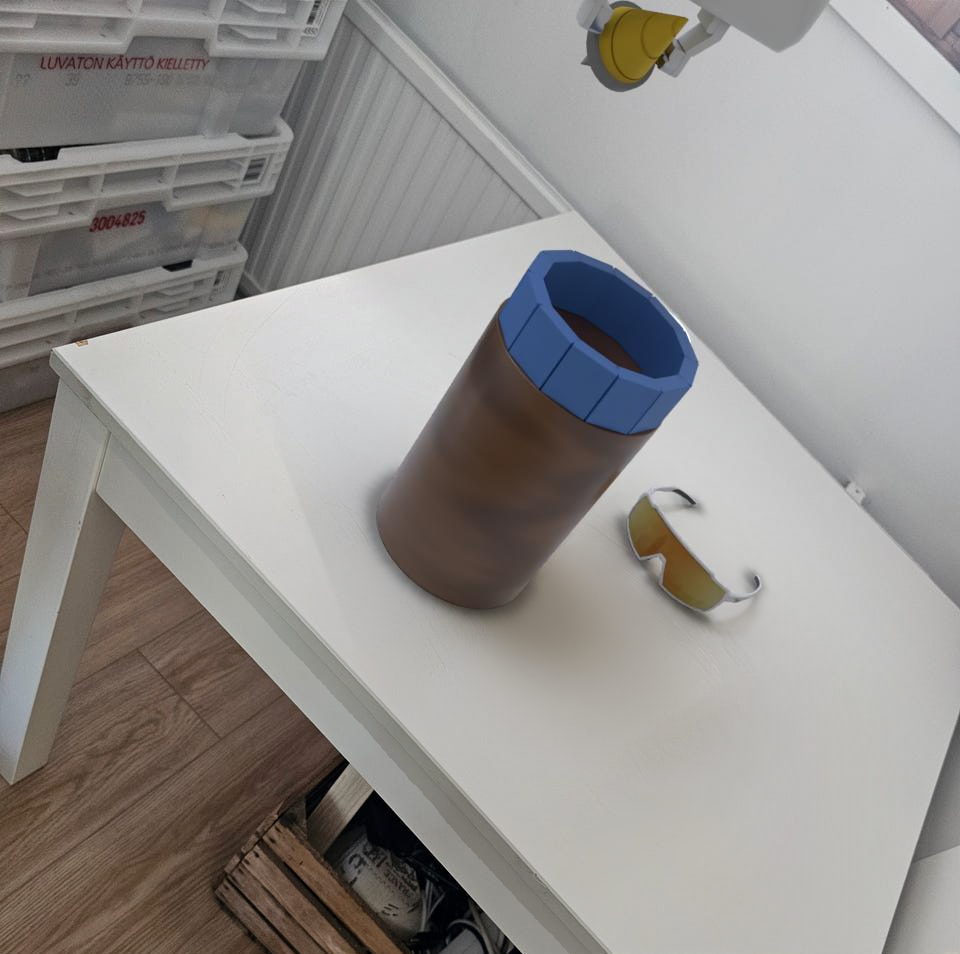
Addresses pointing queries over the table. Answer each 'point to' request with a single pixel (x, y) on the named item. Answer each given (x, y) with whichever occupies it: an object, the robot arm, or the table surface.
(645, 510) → the sunglasses
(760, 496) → the table surface
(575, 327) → the stand
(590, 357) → the blue segmented ring
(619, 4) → the yellow tiered cone
